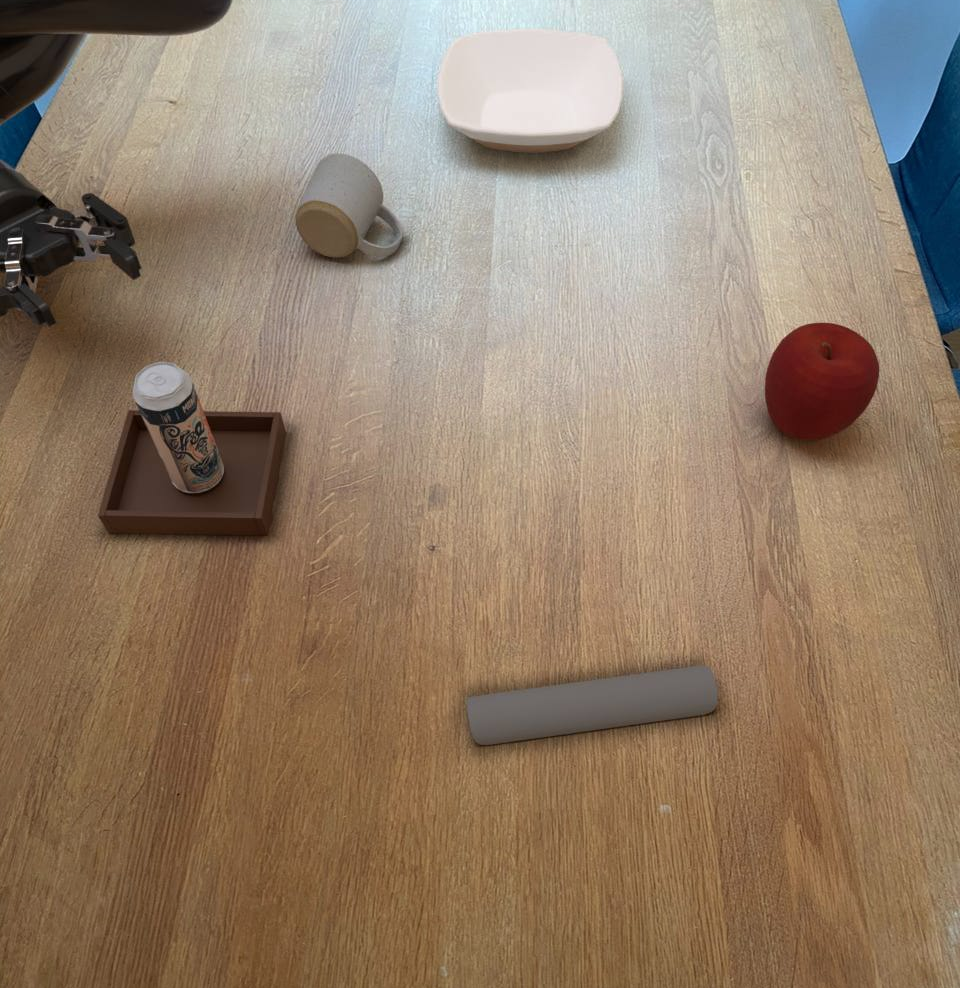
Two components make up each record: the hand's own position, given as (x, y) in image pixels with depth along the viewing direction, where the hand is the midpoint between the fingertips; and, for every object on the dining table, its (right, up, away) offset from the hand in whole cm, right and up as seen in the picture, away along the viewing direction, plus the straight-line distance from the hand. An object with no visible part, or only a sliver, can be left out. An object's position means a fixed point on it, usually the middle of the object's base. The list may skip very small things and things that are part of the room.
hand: (92, 293), depth 81 cm
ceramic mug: (+20, +14, +23) cm, 33 cm away
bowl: (+39, +32, +33) cm, 61 cm away
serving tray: (+8, -15, +5) cm, 18 cm away
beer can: (+8, -15, +5) cm, 18 cm away
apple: (+64, -10, +8) cm, 65 cm away
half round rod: (+42, -35, -6) cm, 55 cm away
